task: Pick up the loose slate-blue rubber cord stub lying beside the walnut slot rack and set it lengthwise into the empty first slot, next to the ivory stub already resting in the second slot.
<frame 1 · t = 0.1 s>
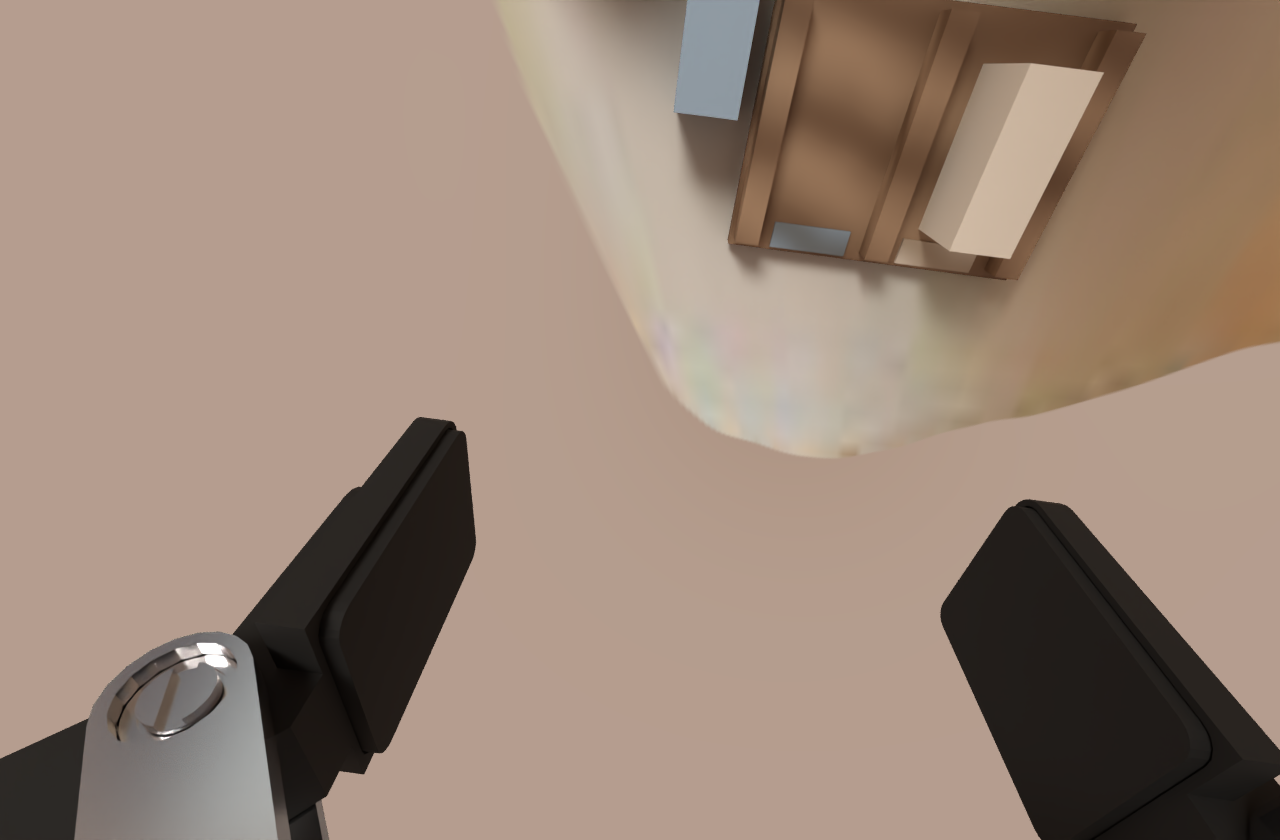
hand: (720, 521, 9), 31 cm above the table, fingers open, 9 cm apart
blue stub: (717, 19, 30), on the table
slot rack: (901, 145, 33), on the table
ivory stub: (977, 156, 32), point 1 cm above the table, touching slot rack
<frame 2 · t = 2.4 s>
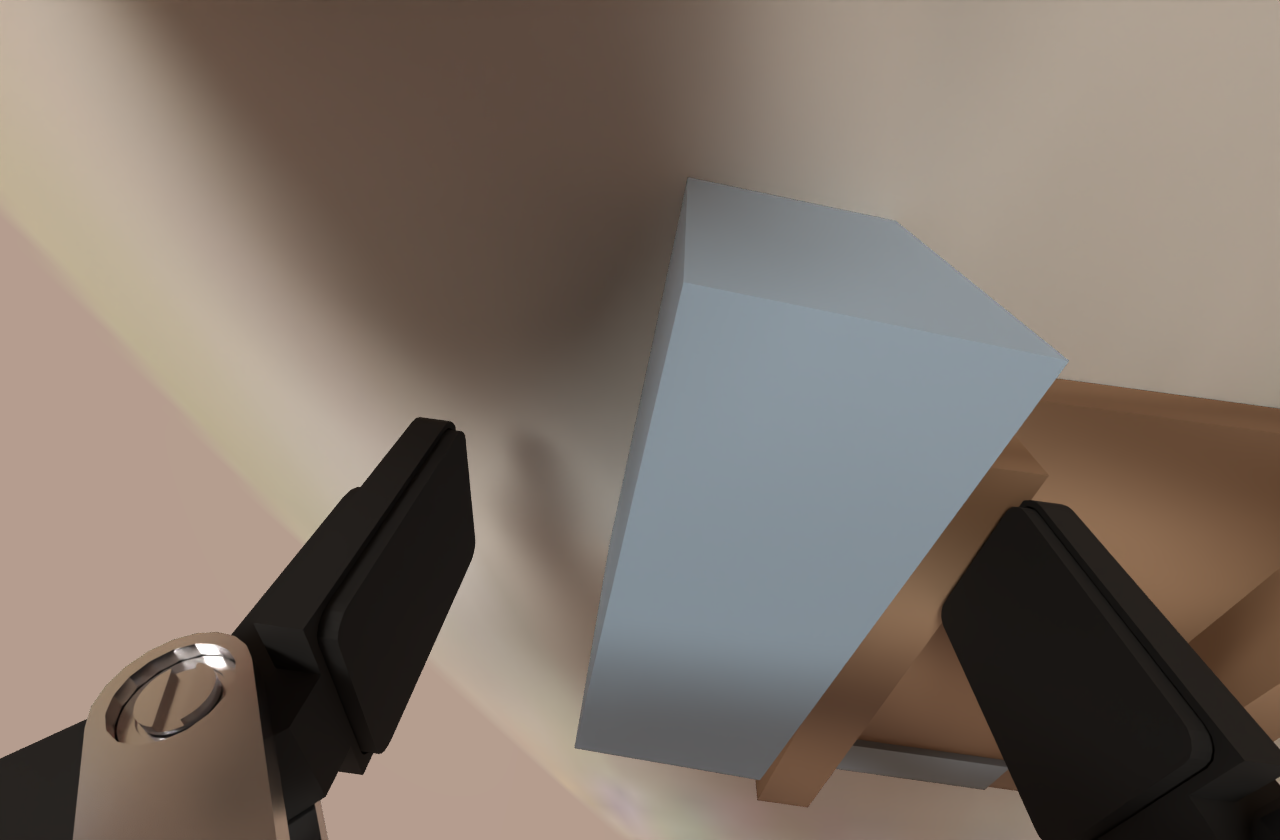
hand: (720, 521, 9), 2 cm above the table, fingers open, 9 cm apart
blue stub: (720, 416, 11), on the table
slot rack: (1153, 640, 14), on the table
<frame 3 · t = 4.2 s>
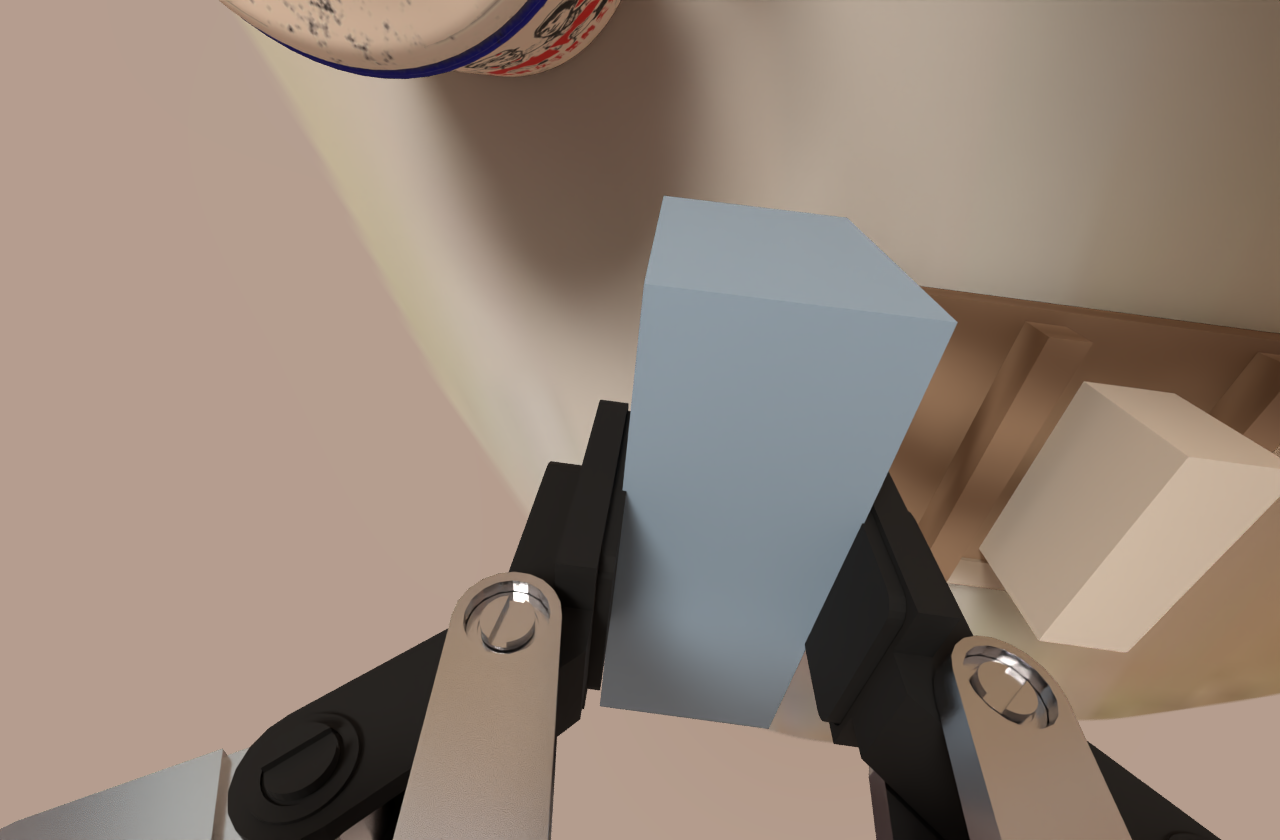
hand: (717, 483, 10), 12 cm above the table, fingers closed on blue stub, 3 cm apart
blue stub: (713, 405, 13), point 9 cm above the table, touching gripper
slot rack: (957, 452, 24), on the table
ivory stub: (1066, 479, 23), point 1 cm above the table, touching slot rack
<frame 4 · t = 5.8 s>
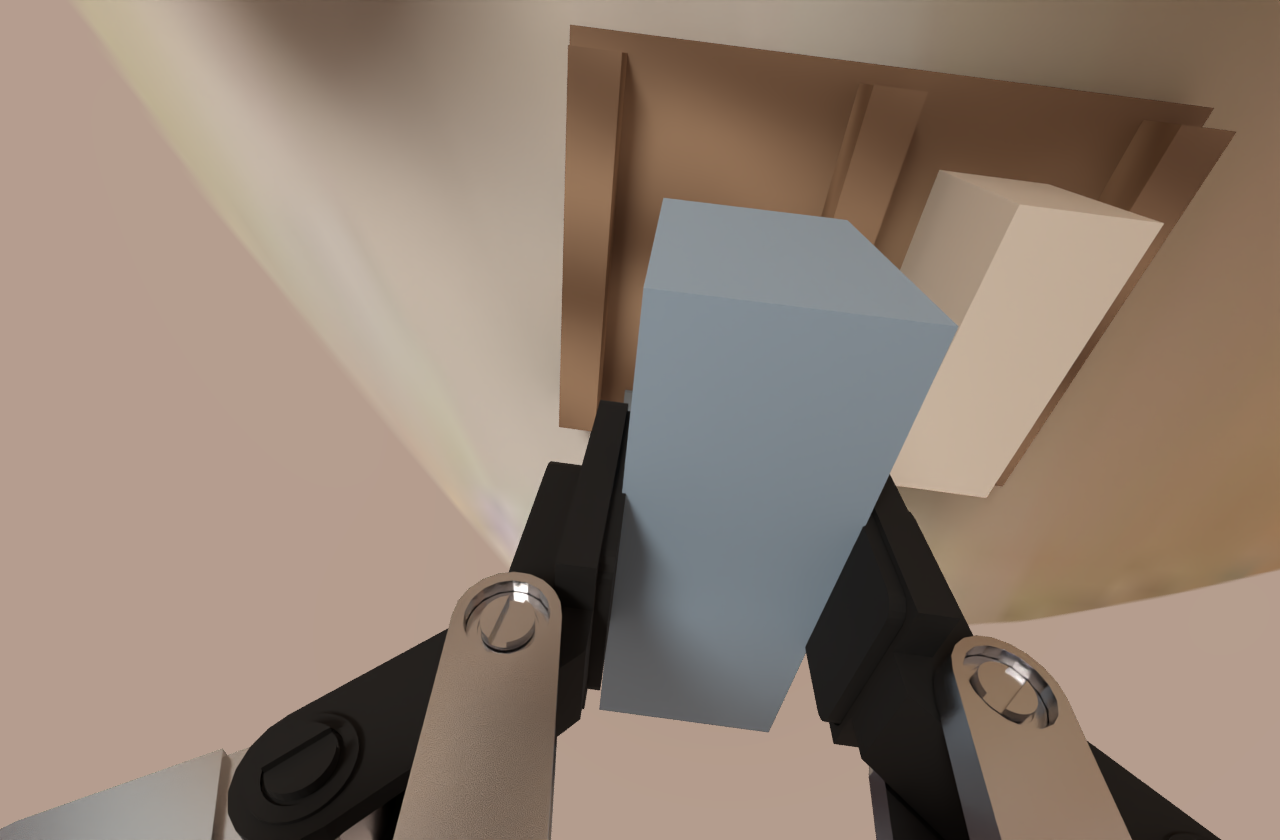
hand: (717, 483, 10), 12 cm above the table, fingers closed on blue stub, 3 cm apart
blue stub: (713, 408, 12), point 10 cm above the table, touching gripper
slot rack: (814, 284, 20), on the table
ivory stub: (934, 309, 19), point 1 cm above the table, touching slot rack
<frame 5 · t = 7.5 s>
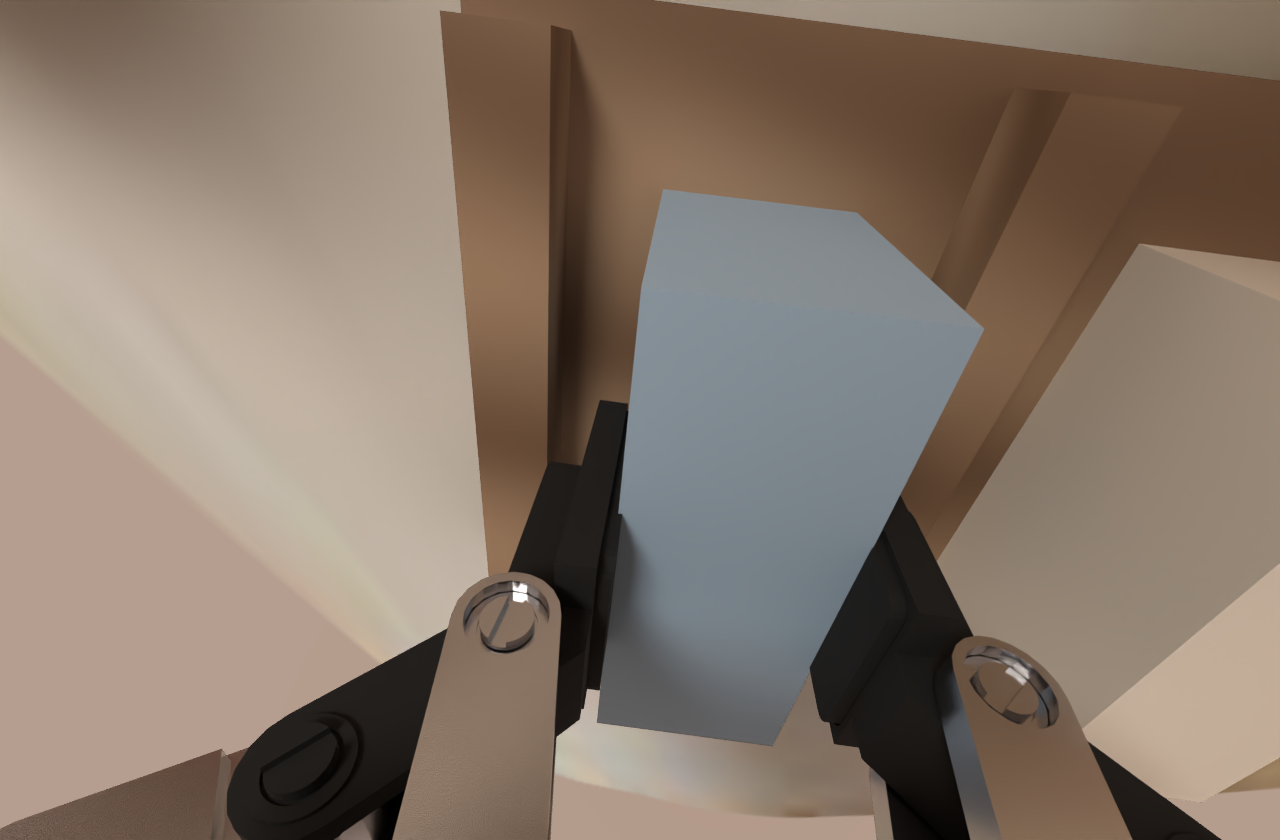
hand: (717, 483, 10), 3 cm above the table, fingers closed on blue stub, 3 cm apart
blue stub: (715, 408, 12), point 1 cm above the table, touching gripper, slot rack
slot rack: (887, 405, 13), on the table
ivory stub: (1088, 454, 12), point 1 cm above the table, touching slot rack
when the fingers open (3 cm above the table, at t = 8.0 s): blue stub stays where it is, resting on slot rack.
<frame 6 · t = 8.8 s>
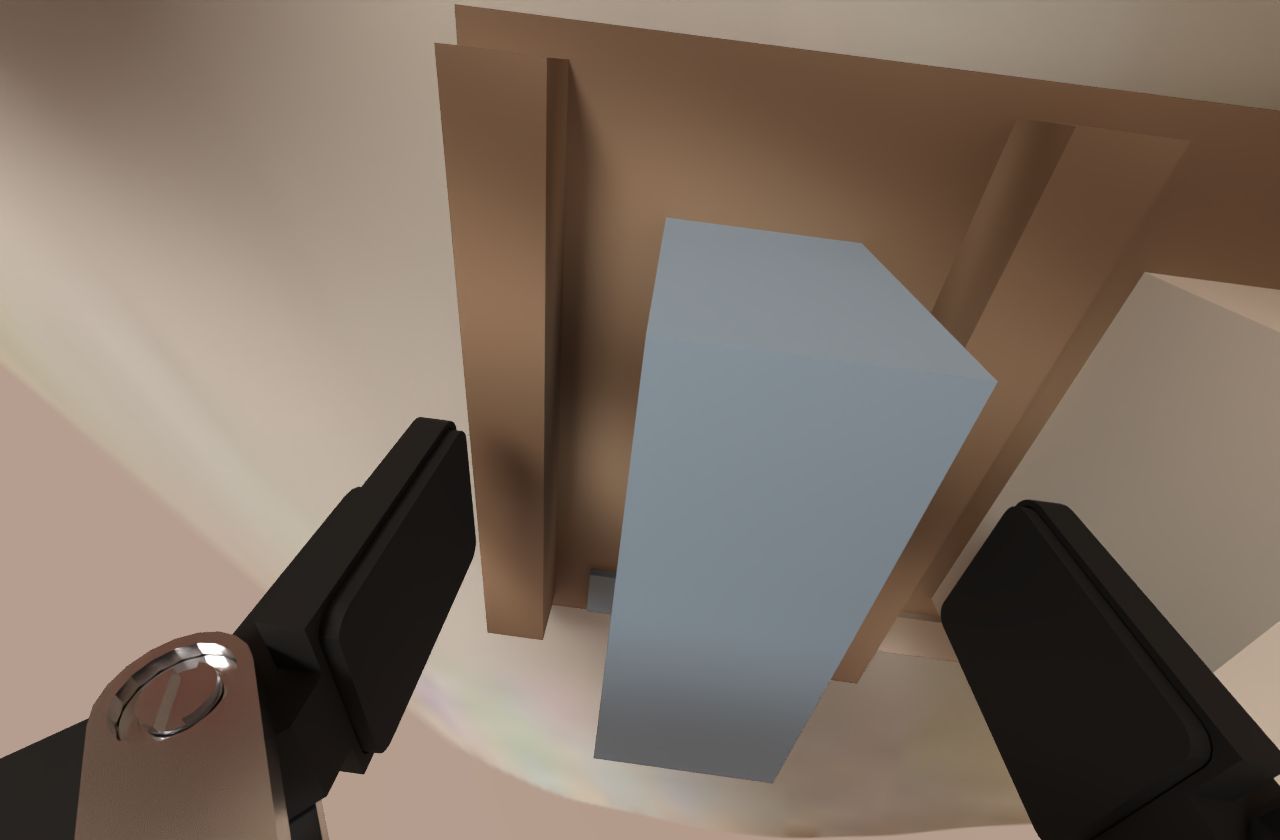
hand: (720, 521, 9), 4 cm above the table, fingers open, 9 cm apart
blue stub: (716, 435, 12), point 1 cm above the table, touching slot rack
slot rack: (889, 429, 13), on the table
ivory stub: (1093, 480, 12), point 1 cm above the table, touching slot rack
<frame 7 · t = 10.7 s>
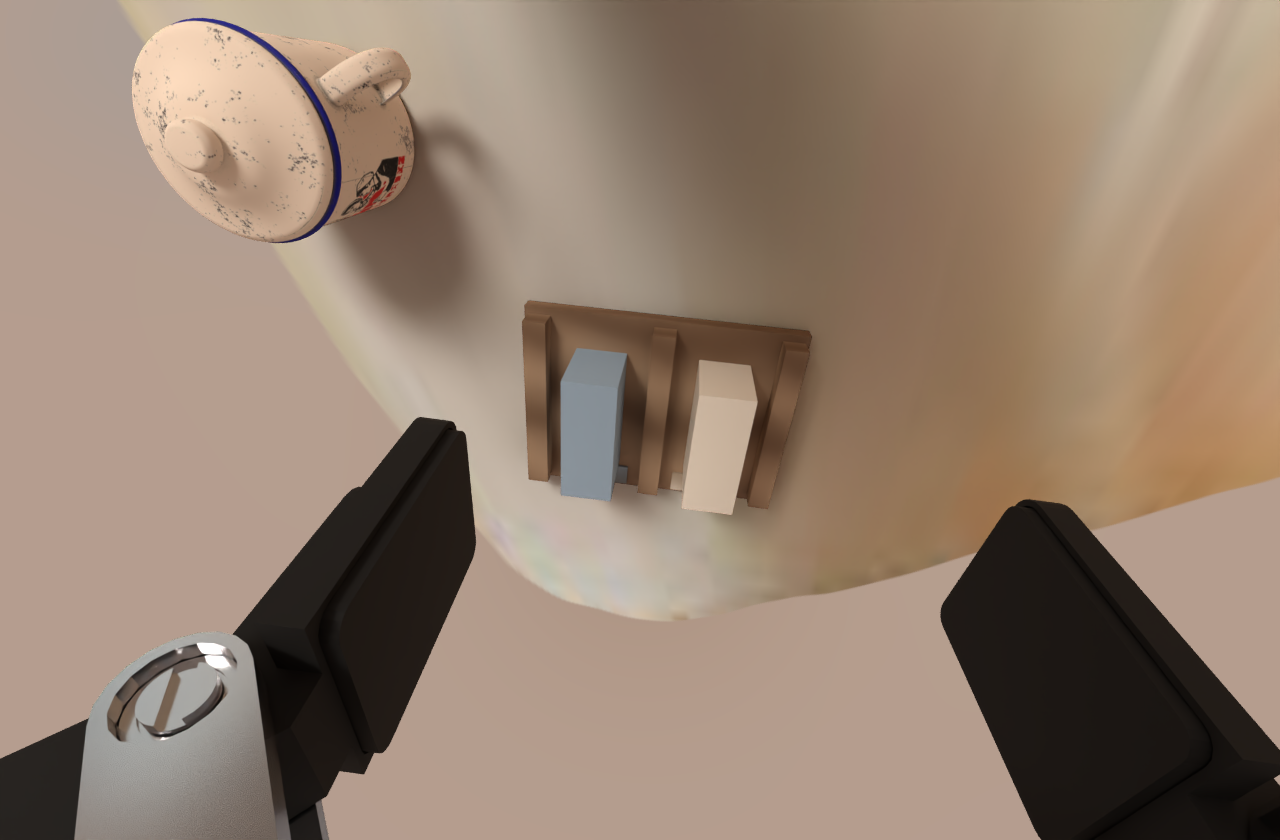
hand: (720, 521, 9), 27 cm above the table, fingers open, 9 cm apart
blue stub: (599, 406, 39), point 1 cm above the table, touching slot rack
slot rack: (657, 405, 39), on the table
teacup with lid: (365, 118, 31), on the table
ivory stub: (714, 418, 38), point 1 cm above the table, touching slot rack
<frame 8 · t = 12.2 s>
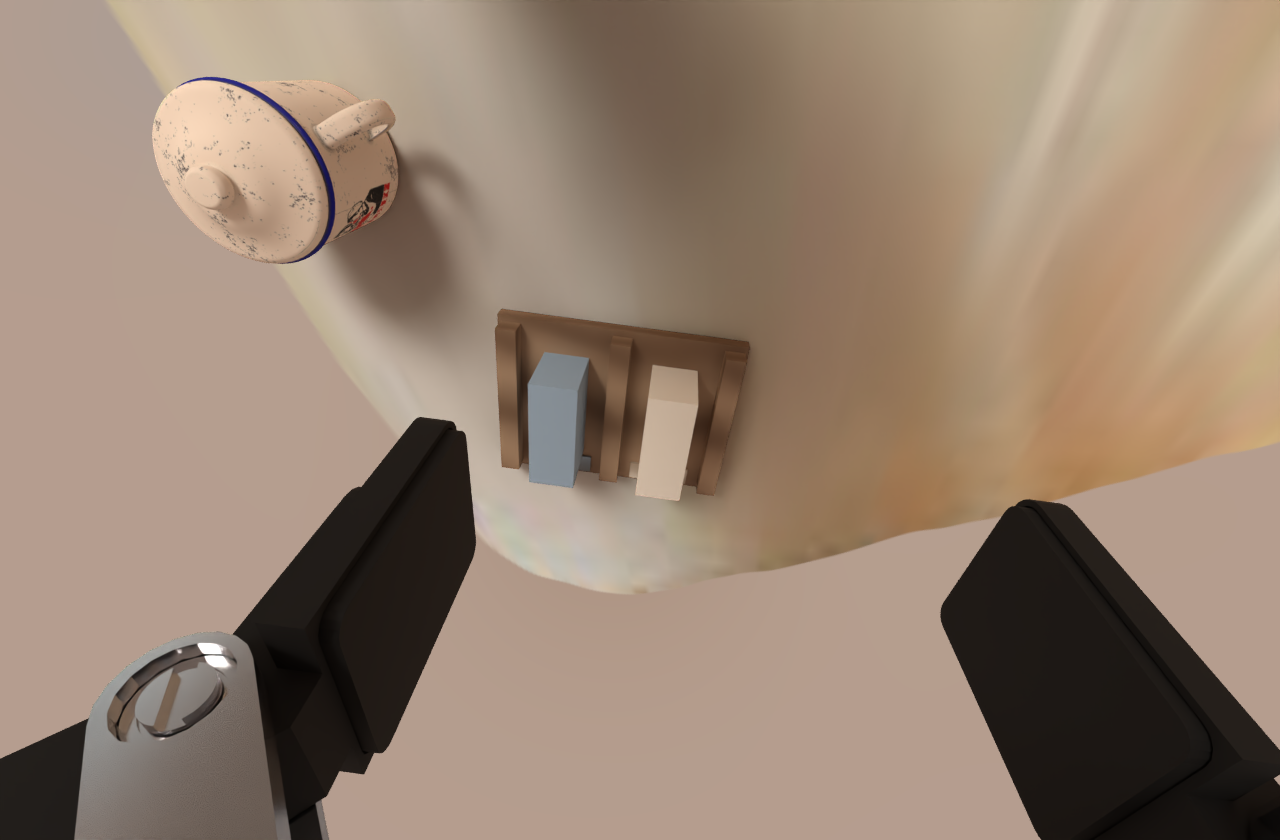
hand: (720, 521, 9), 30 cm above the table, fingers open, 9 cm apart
blue stub: (565, 403, 43), point 1 cm above the table, touching slot rack
slot rack: (617, 402, 44), on the table
teacup with lid: (354, 146, 35), on the table
ivory stub: (667, 416, 43), point 1 cm above the table, touching slot rack
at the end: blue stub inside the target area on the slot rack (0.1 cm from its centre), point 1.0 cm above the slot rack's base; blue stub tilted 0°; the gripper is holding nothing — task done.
